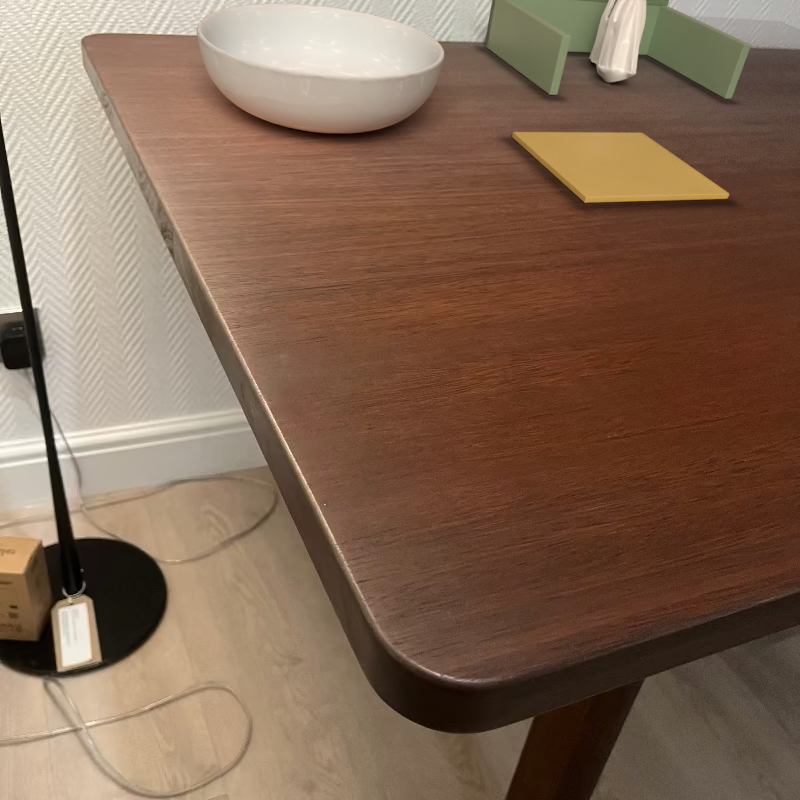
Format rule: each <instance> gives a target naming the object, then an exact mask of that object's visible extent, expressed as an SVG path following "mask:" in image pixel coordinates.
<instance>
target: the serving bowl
mask: <svg viewBox="0 0 800 800" xmlns="http://www.w3.org/2000/svg"><path fill="white" fill-rule="evenodd" d="M196 37H197V43H198V48H199V51H200V56H201V60H202V62H203V65H204V67H205V70H206V72H207V74H208V76H209V78H210V79H211V81H212V82H213V84H214V85H215V86H216V87H217V89H218V90H219V91H220V92H221V93H222V94H223V96H224V97H226V98H227V99H228V100H229V101H230V103H233V104H234V105H235V106H237V108H240V109H241V110H242V111H245V112H246V113H248V114H250V115H253V116H254V117H256V118H259V119H261V120H264V121H266V122H268V123H271V124H275V125H279V126H283V127H286V128H291V129H293V130H294V129H295V130H301V131H305V132H309V133H315V134H356V133H357V134H359V133H365V132H366V133H367V132H371V131H377V130H381V129H384V128H387V127H391V126H394V125H395V124H398V123H400V122H402V121H404V120H405V119H407V118H409V117H411V116H412V115H413V114H414V113H416V112H417V111H418V110H419V109H420V108H421V107H422V106H423V105H424V104H425V102H426V101H427V100H428V99H429V98H430V96H431V94H433V91H434V89H435V87H436V85H437V83H438V81H439V77H440V75H441V72H442V69H443V68H442V67H443V64H444V60H445V50H444V48H443V46H442V45H441V43H440V42H439V41H438V40H436V39H435V38H434V37H432V36H431V35H430V34H428V33H426V32H424V31H423V30H420V29H418V28H416V27H414V26H411V25H409V24H406V23H403V22H401V21H397V20H395V19H392V18H387V17H385V16H381V15H380V16H379V15H376V14H371V13H367V12H364V11H358V10H353V9H347V8H340V7H333V6H326V5H317V4H307V3H306V4H305V3H289V2H288V3H285V2H284V3H283V2H282V3H281V2H280V3H279V2H277V3H275V2H274V3H272V2H271V3H267V2H266V3H253V4H243V5H235V6H230V7H227V8H221V9H219V10H216V11H214V12H211V13H209V14H207V15H205V16H204V17H203V18H202V19H201V20H199V22H198V23H197V26H196Z"/></svg>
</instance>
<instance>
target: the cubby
mask: <svg viewBox="0 0 800 800" xmlns="http://www.w3.org/2000/svg"><path fill="white" fill-rule="evenodd" d="M608 1H609V0H491V5H490V10H489V16H488V22H487V23H488V24H487V27H486V28H487V29H486V32H485V33H486V34H485V38H484V43H483V44H484V47H485V48H486V49H488V50H489V51H490V52H492V53H493V54H494V55H496V56H497V57H498V58H500V60H502V61H504V62H505V63H506V64H508V66H510V67H512V68H513V69H514V70H516V71H517V72H518V73H520V75H522V76H524V77H525V78H527V80H529V81H530V82H532V84H534V85H536V86H537V87H538V88H539V89H541V90H543V92H544V93H546V94H547V95H548V96H558V94H559V89H560V85H561V82H562V76H563V73H564V68H565V65H566V61H567V56H568V52H570V53H591V52H592V49H593V46H594V44H595V40H596V36H597V32H598V28H599V24H600V20H601V17H602V14H603V12H604V10H605V8H606V5H607V3H608ZM669 3H670V0H646V21H645V25H644V30H643V34H642V38H641V42H640V46H639V52H638V55H640V56H641V55H643V56H648V57H650V58H652V59H654V60H655V61H656V62H659V63H660V64H662V65H664V66H666V67H667V68H670V69H671V70H673V71H675V72H676V73H678V74H680V75H682V76H684V77H685V78H687V79H689V80H691V81H692V82H694V83H696V84H698V85H700V87H701V86H702V87H703V88H705V89H706V90H708V91H711V92H712V93H715V94H716V95H717V96H719V97H721V98H723V99H725V100H732V98H733V96H734V93H735V90H736V88H737V85H738V82H739V79H740V77H741V75H742V71H743V69H744V65H745V63H746V60H747V57H748V55H749V53H750V50H751V47H752V44H751V43H748V42H746V41H744V40H742V39H740V38H737V37H735V36H733V35H731V34H729V33H727V32H725V31H722V30H720V29H718V28H716V27H713V26H712V25H709V24H707V23H705V22H703V21H702V20H701V21H700V19H699V20H698V19H696V18H694V17H692V16H690V15H688V14H686V13H683V12H681V11H679V10H677V9H675V8H672V7H670V6H669Z"/></svg>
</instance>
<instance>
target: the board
mask: <svg viewBox="0 0 800 800" xmlns="http://www.w3.org/2000/svg"><path fill="white" fill-rule="evenodd" d="M511 138H512V139H514V140H515V141H516V142H517V143H518V144H519V145H520V146H521V147H522V148H524V149H525V151H527V152H528V153H529V154H530V155H531V156H533V157H534V158H535V159H536V160H537V161H538V162H539V163H540V164H541V165H542V166H543V167H544V168H546V170H548V171H549V172H550V173H551V174H552V175H553V176H554V177H555V178H557V179H558V180H559V181H560V182H561V184H563V185H564V186H565V187H566V188H567V189H568V190H570V191H571V192H572V193H573V194H574V195H575V196H577V198H579V199H580V200H581V201H582V202H583V203H584V204H587V203H588V204H589V203H627V202H629V203H631V202H662V201H664V202H665V201H698V200H727V199H728V198H729V196H730V193H729V191H727V190H725V189H724V188H722V187H721V186H719V184H716V183H715V182H713V181H712V180H711V179H709V178H708V177H706V176H705V175H704V174H702V173H701V172H699V171H698V170H696V169H695V168H694V167H692V166H690V165H689V164H688V163H686V161H684V160H682V159H681V158H680V157H677V155H675V154H674V153H672V152H670V150H668V149H666V148H665V147H664V146H662V145H661V144H659V143H658V142H656V141H655V140H653V139H652V138H650V136H648V135H646V134H645V133H643V132H623V131H622V132H616V131H615V132H611V131H609V132H607V131H603V132H601V131H599V132H595V131H591V132H587V131H586V132H584V131H513V132H512V137H511Z"/></svg>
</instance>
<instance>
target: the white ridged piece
mask: <svg viewBox="0 0 800 800" xmlns="http://www.w3.org/2000/svg"><path fill="white" fill-rule="evenodd" d="M645 21H646V0H609V1H608V3H607V5H606V8H605V10H604V12H603V14H602V17H601V20H600V24H599V28H598V32H597V36H596V40H595V44H594V46H593V49H592V52H590V55H589V58H588V59H589V60H590V62H592V63H594V64H595V66H596V72H597V75H598V76H600V77H601V78H602V79H603V81H604V82H605V83H616V82H620V81H624V80H627V79H630V78H632V77H635V76H636V75H637V70H638V59H639V54H638V52H639V46H640V42H641V38H642V34H643V30H644V25H645Z"/></svg>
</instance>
